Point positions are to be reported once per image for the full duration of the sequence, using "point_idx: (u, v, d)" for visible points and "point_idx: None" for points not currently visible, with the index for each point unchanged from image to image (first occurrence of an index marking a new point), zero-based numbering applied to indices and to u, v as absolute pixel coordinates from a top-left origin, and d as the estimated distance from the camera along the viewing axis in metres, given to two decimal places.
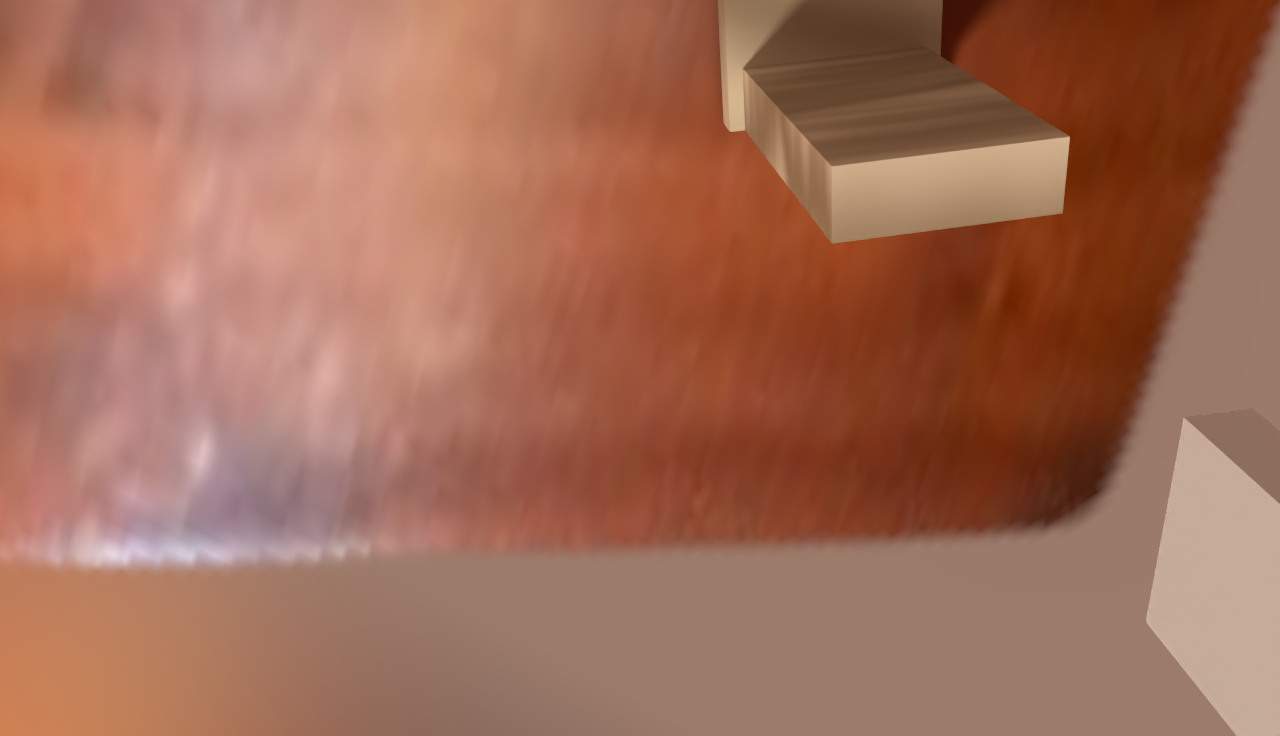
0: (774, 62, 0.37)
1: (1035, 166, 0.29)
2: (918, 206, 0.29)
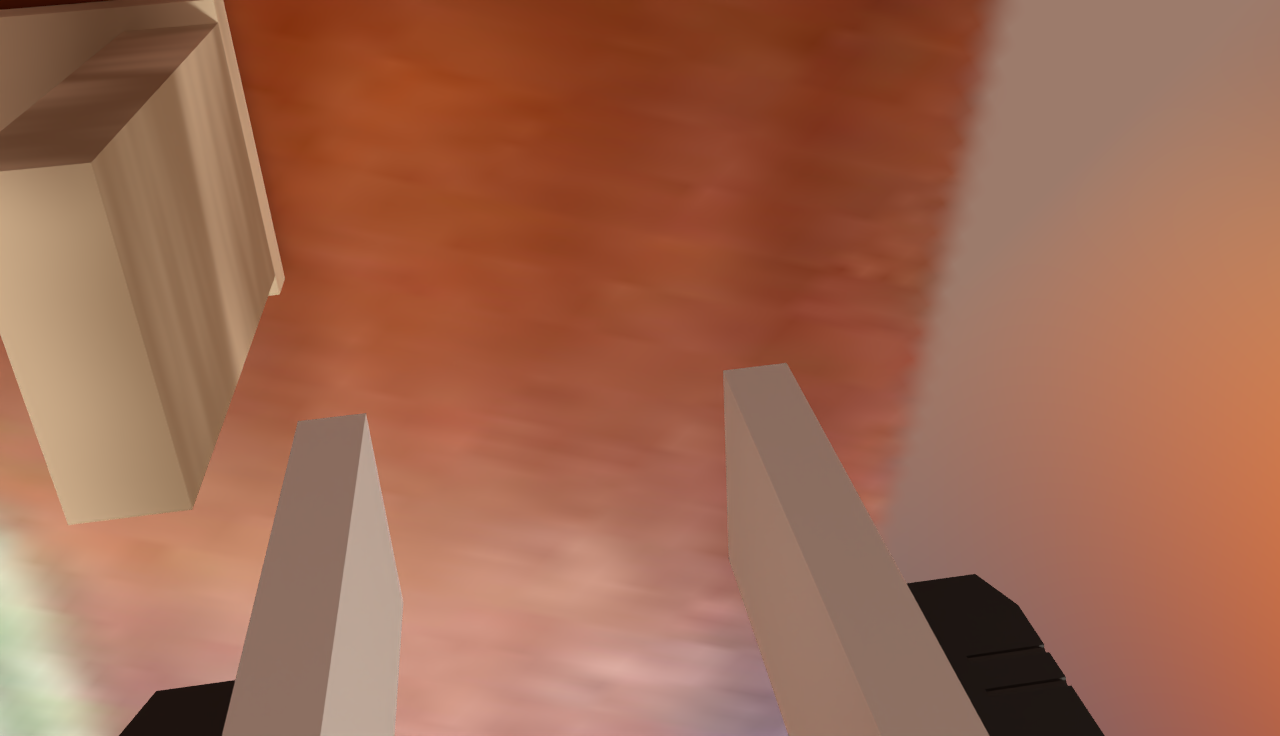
0: None
1: (11, 227, 0.17)
2: (114, 399, 0.18)
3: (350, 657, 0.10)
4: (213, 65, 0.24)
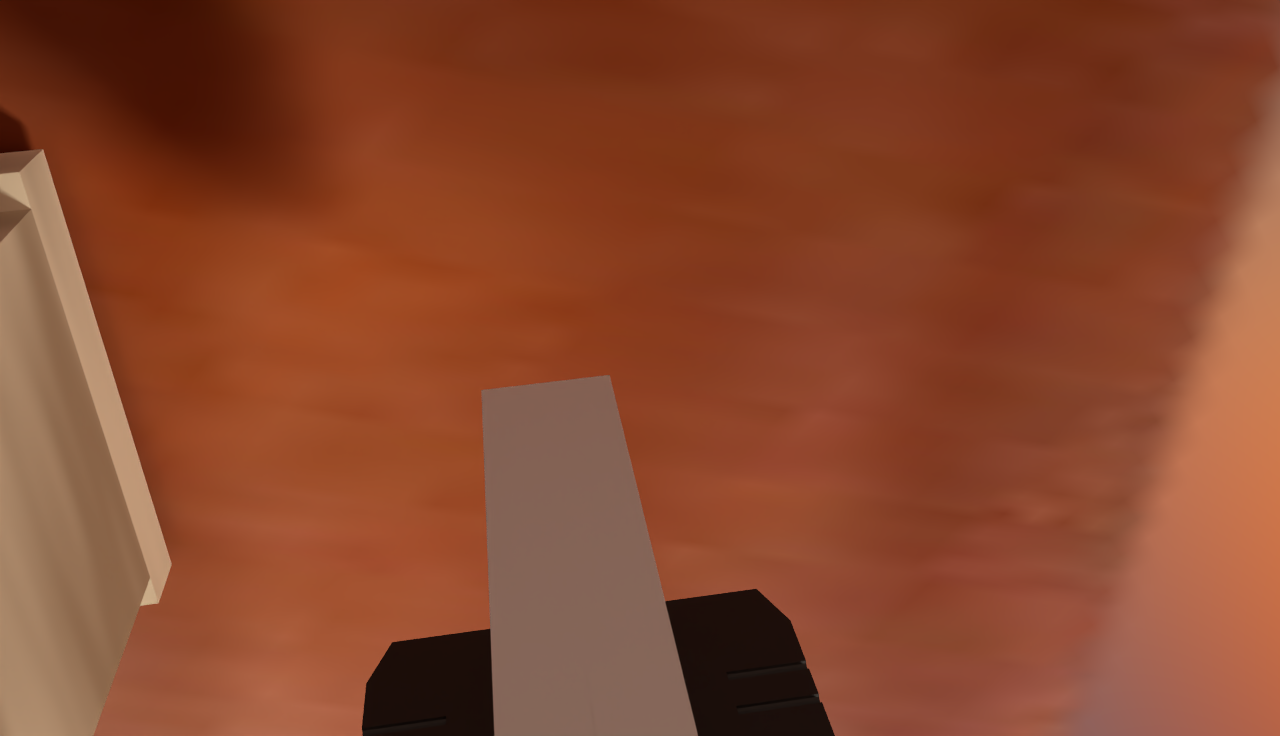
0: None
1: None
2: None
3: None
4: (12, 293, 0.14)
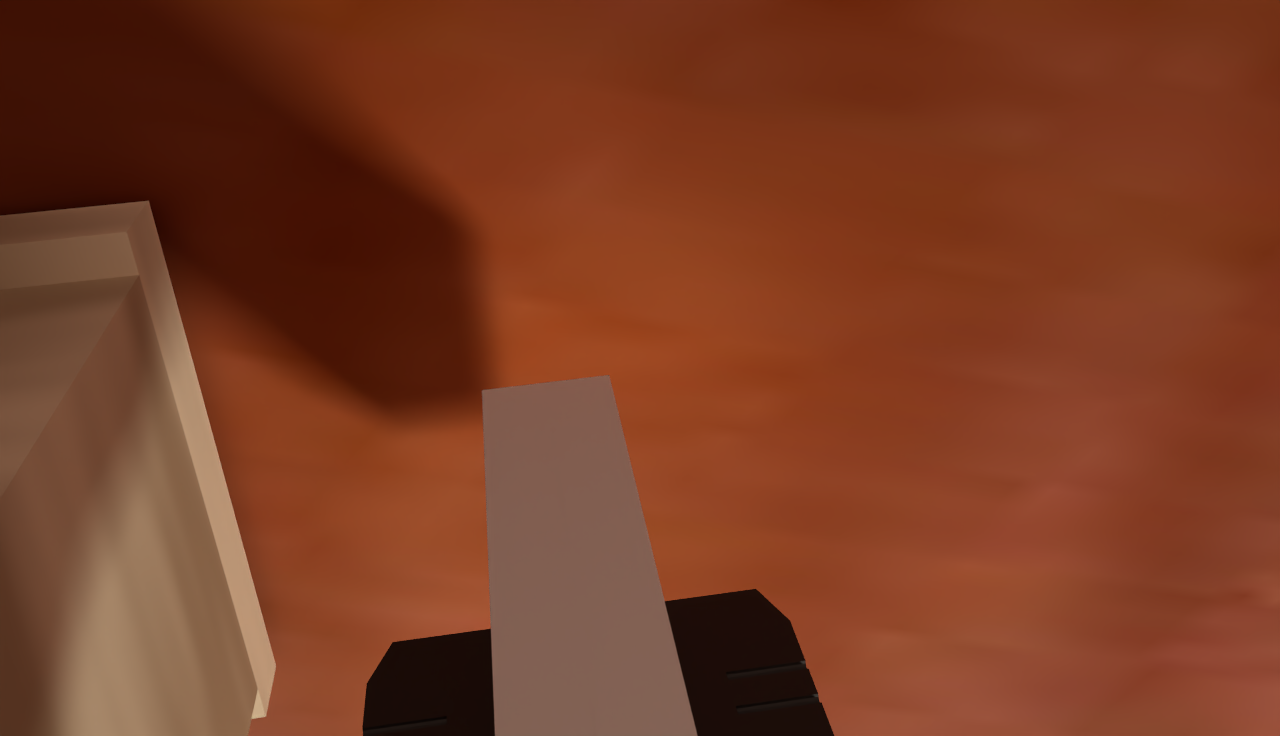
0: None
1: None
2: None
3: None
4: (123, 382, 0.12)
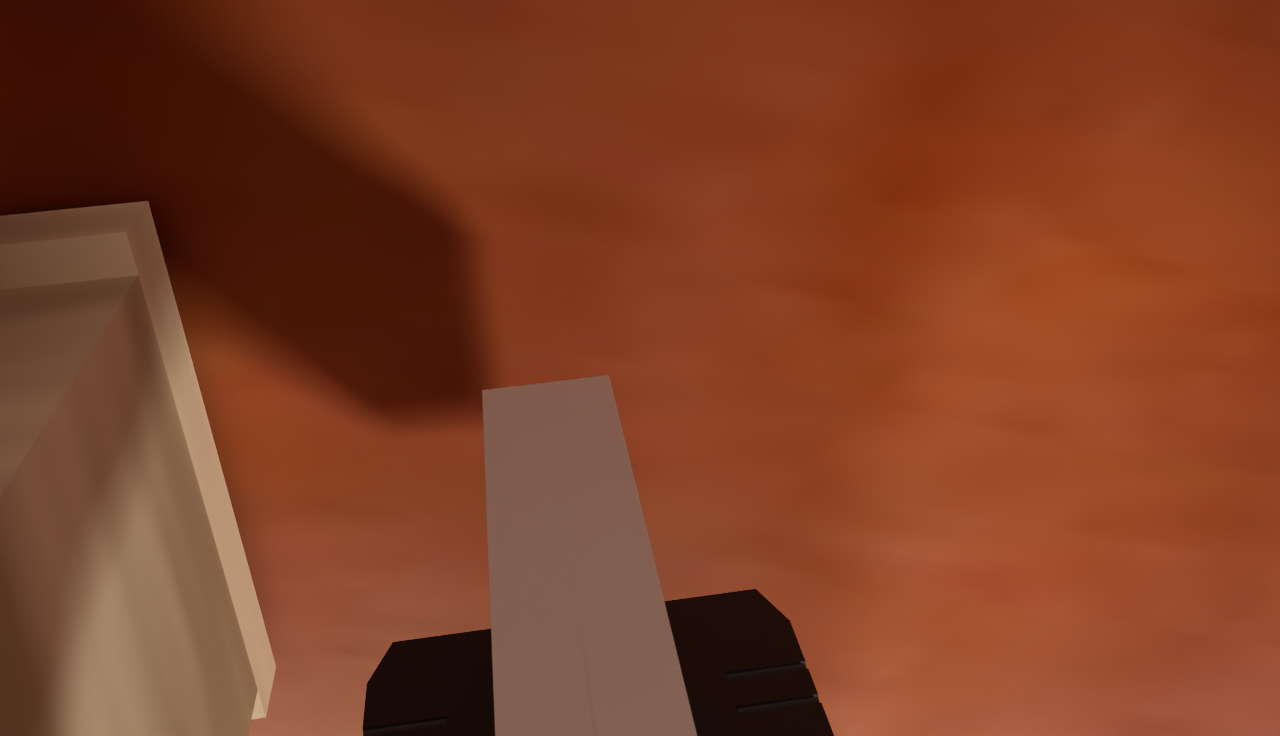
0: None
1: None
2: None
3: None
4: (122, 382, 0.12)
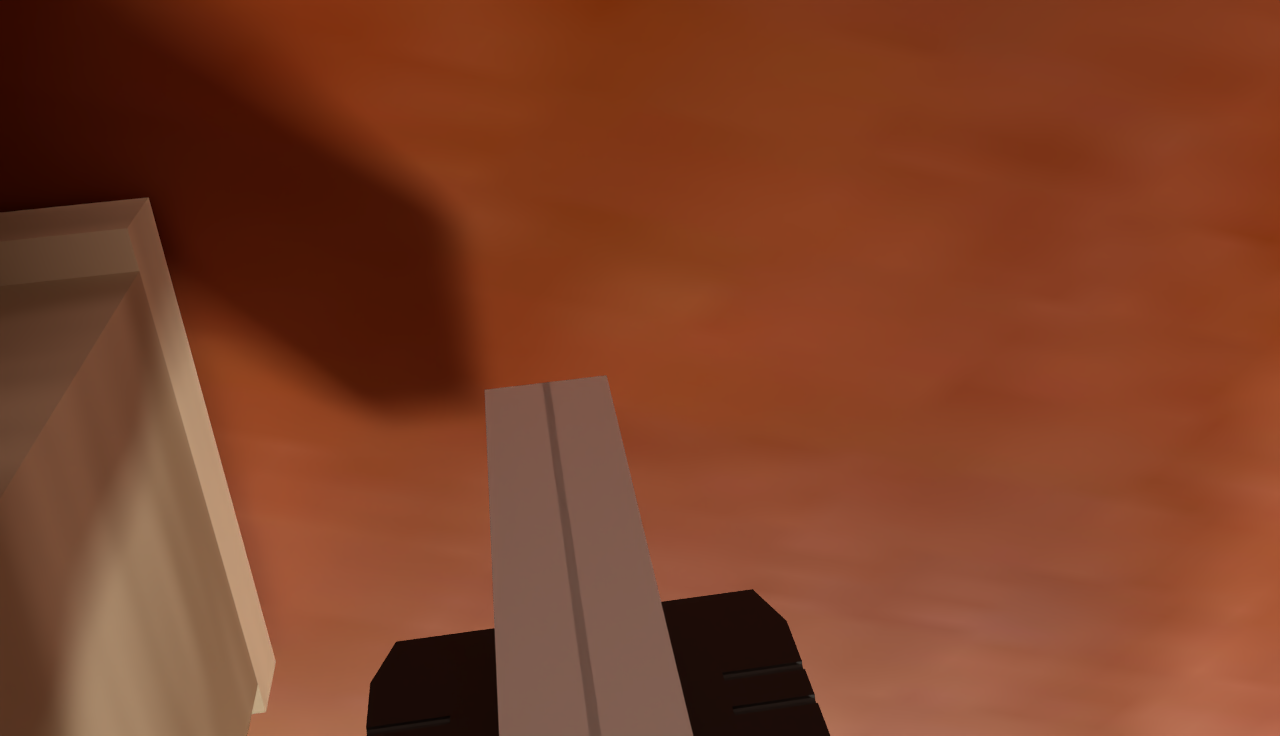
0: None
1: None
2: None
3: None
4: (124, 377, 0.12)
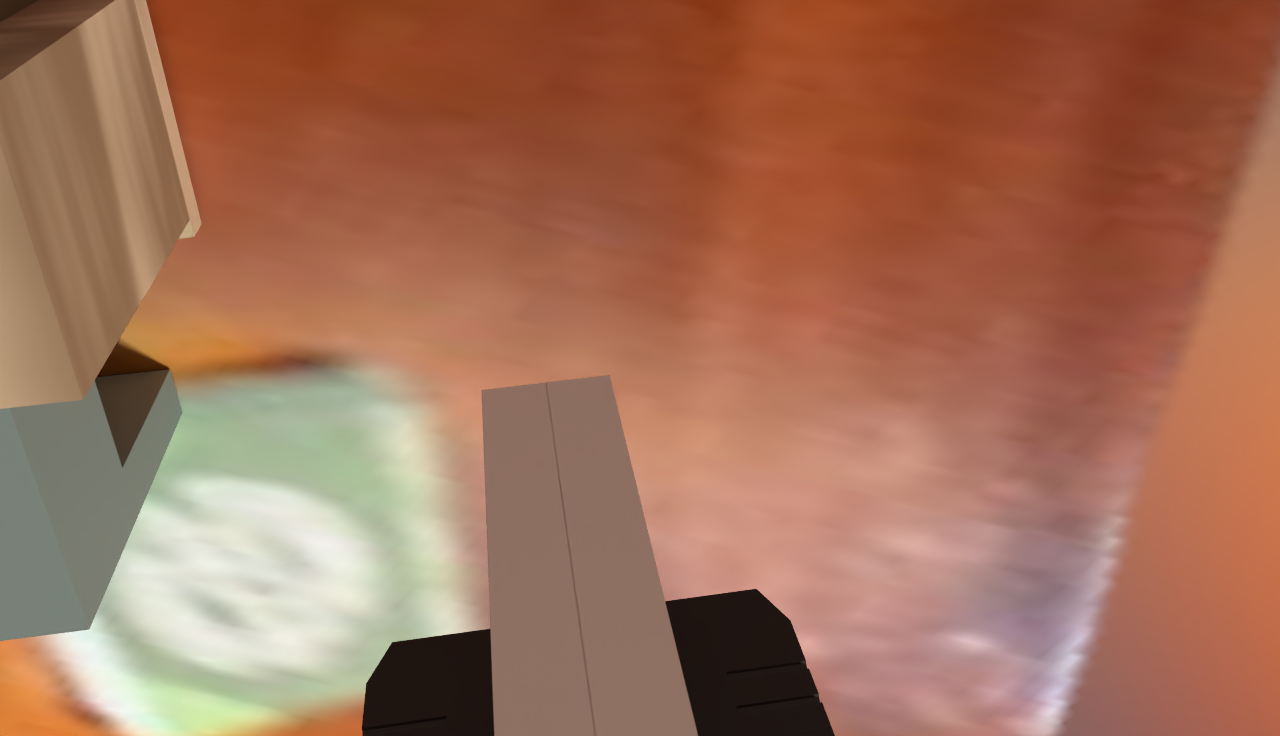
0: None
1: None
2: (10, 299, 0.21)
3: None
4: (124, 25, 0.28)
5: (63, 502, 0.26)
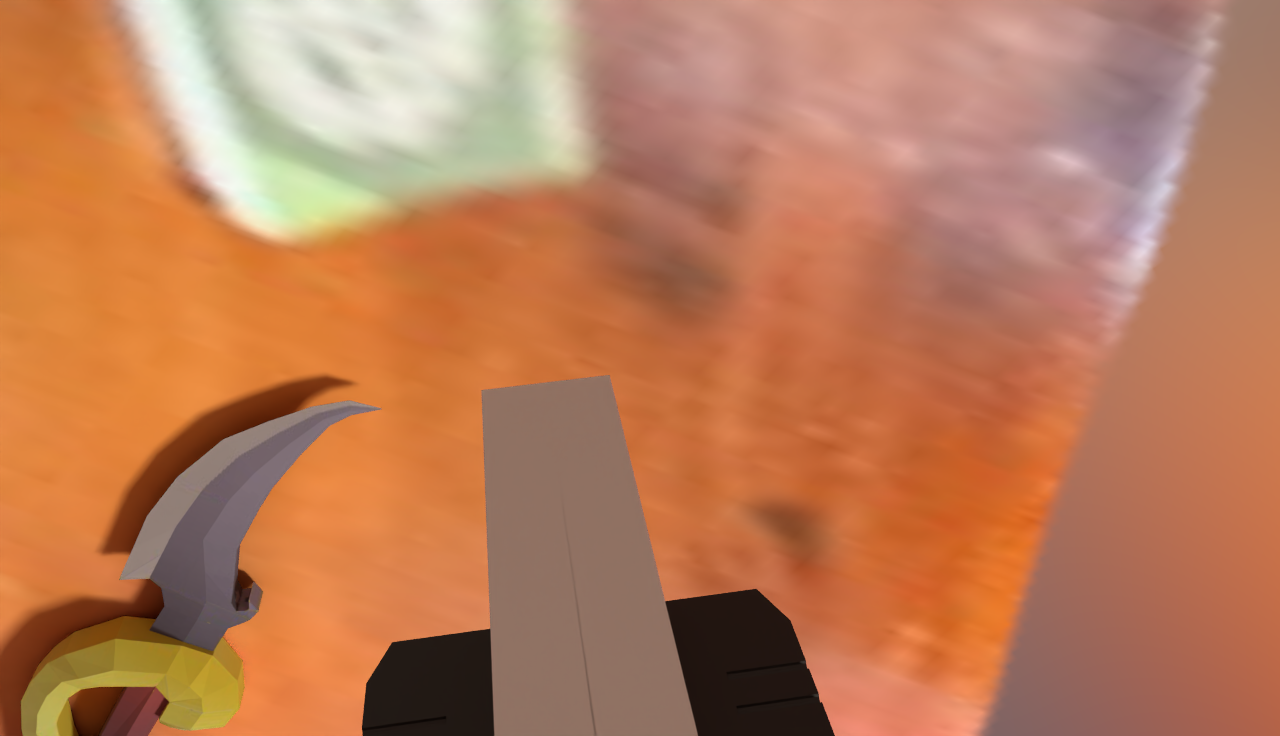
0: None
1: None
2: None
3: None
4: None
5: None
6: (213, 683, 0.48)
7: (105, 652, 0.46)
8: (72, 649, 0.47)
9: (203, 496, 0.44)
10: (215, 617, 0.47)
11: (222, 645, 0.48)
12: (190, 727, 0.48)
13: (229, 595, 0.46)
